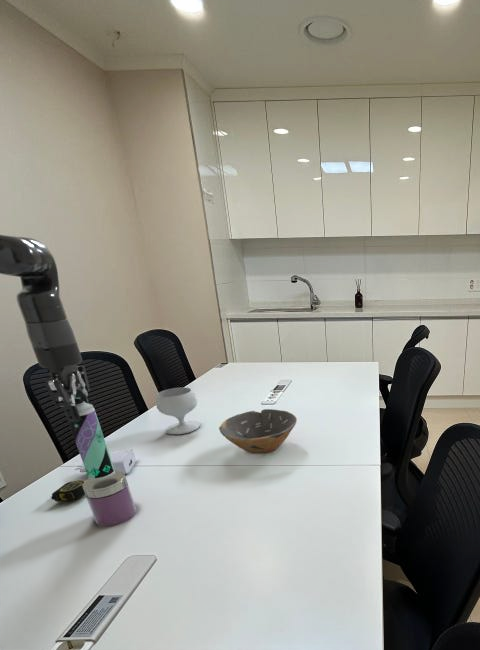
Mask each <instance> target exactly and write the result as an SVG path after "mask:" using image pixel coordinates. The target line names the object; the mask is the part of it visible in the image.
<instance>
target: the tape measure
mask: <svg viewBox="0 0 480 650" xmlns="http://www.w3.org/2000/svg"><path fill="white" fill-rule="evenodd" d="M84 482H85V480H81V479H79V480H78V479H77V480H73V481H68V482H66V483H64V484H63V485H61V486H60V487H59V488H57V489H56V490H55V491H54V492H52V493H51V496H50V498H51V500H53V501H54V502H57V503H58V502H62V501H63V502H72V501H76V500H78V499H80V498H82V497H84V496H85V492H84V489H83V487H82V485H83V483H84Z"/></svg>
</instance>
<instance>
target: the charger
mask: <svg viewBox="0 0 480 650" xmlns="http://www.w3.org/2000/svg"><path fill="white" fill-rule="evenodd" d="M109 454H110V457H111V460H112V464H113V467H114V470H115V471H120V472H123V473H124V475H127V474H129V473H130V471H132V468H133V467H134V466H135V464H136V461H137V460H136V457H135V453H134V450H133V449H127V450H119V451H110V452H109ZM74 470H75V471H77V470H79V472H80V473H87V472H86V469H85V467H84V464H83V463H82V464H81V465H77V466H76V468H74Z"/></svg>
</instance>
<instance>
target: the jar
mask: <svg viewBox="0 0 480 650" xmlns="http://www.w3.org/2000/svg"><path fill="white" fill-rule="evenodd" d="M84 496H85V498H86V501H87V503H88V506H89V508H90V510H91V514H92V516H93V519H94V521H95V524H96V525H98V526H100V527H111V526H115V525H119V524H121V523H124V522H126V521H127V520H129V519H131V518H132V517H133V516H134V515H135V514H136V513H137V507H136V504H135V501H134V498H133V495H132V491H131V489H130V486H129V483H128V482H127V485H126V486H125V487H124V488H123V489H122V490H120V491H119V492H117V493H114V494H112V495H109V496H106V497H100V498H90V497H87V496H86V494H85V495H84Z"/></svg>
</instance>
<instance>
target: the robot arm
mask: <svg viewBox="0 0 480 650" xmlns="http://www.w3.org/2000/svg"><path fill="white" fill-rule="evenodd" d="M0 275H4V276H10V277H19V279H20V283H21V290H20V291H19V292H18V293H16V298H15V299H16V303H17V305H18V309H19V311H20V313H21V316H22V319H23V321H24V324H25V325H24V326H25V329H26V333H27V337H28V340H29V342H30V344H31V347H32V350H33V352H34V355H35V358H36V361H37V363H38V366H39V367H40V368H42V369H48V370H49V373H50V380H44V382H43V385H44V387H45V389H46V391H47V393H48V395H49V397H50V399H51V401H52V403H53V405H54V407H55V408H63V411H64V414H65V417H66V419H68V420H67V422H70V423H73V422H79V421H80V420H81V418H80V415H79V412H78V410H77V407H76V405H75V399H74V397H80V398H81V400H83V401H85V403H88V404H90V402H89V399H88V395H89V393H88V392H90V390H91V388H90V383H89V380H88V375H87V371H86V367H85V365H79V364H81V363H82V362H83V358H82V354H81V351H80V349H79V348H80V347H79V345H78V342H77V339H76V336H75V333H74V330H73V328H72V326H71V324H70V322H69V319H68V317H67V314H66V310H65V308H64V305H63V302H62V299H61V295H60V281H59V273H58V267H57V263H56V260H55V258H54V256H53V254H52V252H51V251H50V249H49V248H48V247H47V245H45V244H44V243H43V242H41V241H40V240H37V239H35V238H32V237H23V236H14V235H4V234H0Z"/></svg>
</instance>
